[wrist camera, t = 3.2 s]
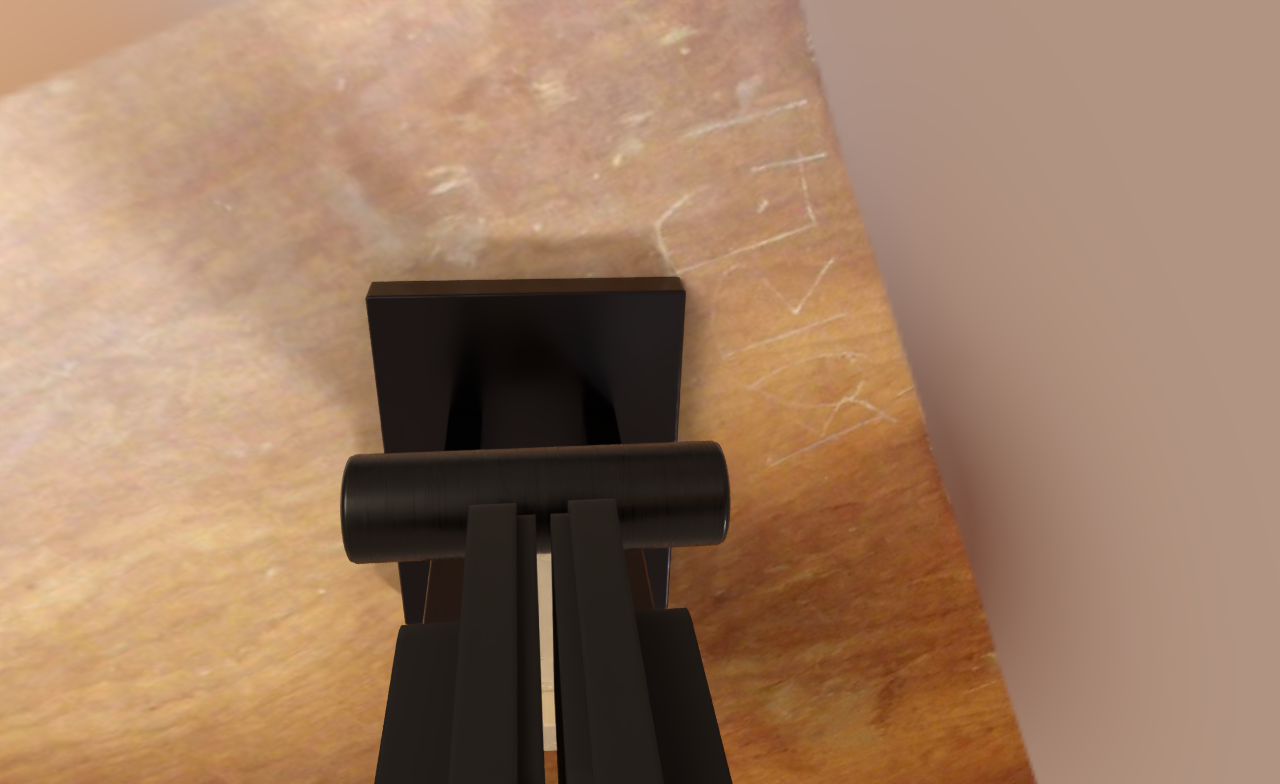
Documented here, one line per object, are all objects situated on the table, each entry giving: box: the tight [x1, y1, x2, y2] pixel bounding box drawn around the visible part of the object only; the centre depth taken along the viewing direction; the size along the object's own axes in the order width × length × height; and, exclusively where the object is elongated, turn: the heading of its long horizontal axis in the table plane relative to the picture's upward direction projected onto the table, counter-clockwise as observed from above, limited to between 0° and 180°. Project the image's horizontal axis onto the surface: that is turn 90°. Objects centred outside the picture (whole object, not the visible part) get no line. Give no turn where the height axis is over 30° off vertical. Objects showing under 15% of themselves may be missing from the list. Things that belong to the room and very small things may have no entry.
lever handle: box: [340, 441, 730, 751], centre depth 17 cm, size 12×5×2 cm, turn 179°
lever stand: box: [366, 277, 686, 625], centre depth 24 cm, size 12×9×12 cm
